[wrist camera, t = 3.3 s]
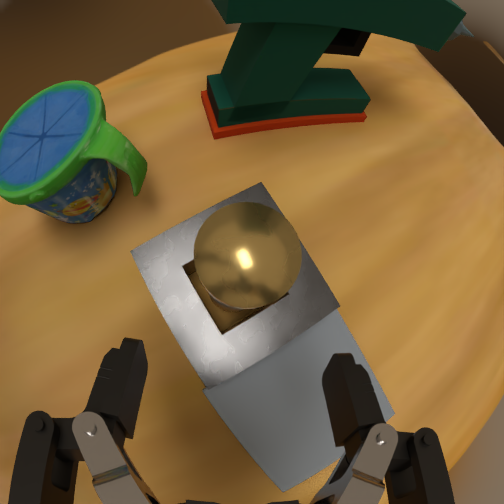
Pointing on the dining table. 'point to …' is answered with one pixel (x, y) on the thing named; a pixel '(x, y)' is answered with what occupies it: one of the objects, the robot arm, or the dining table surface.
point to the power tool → (310, 58)
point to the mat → (290, 403)
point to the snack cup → (65, 154)
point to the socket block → (199, 319)
